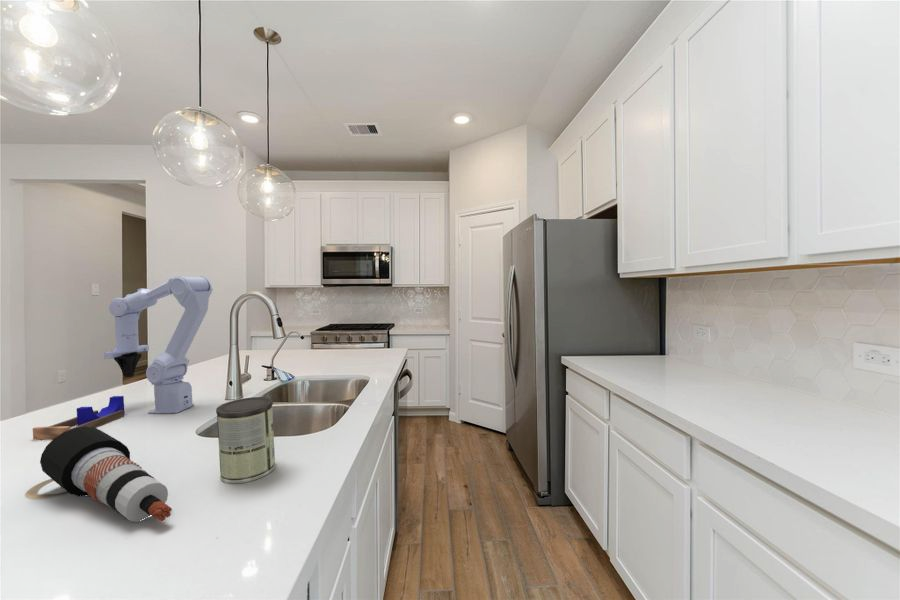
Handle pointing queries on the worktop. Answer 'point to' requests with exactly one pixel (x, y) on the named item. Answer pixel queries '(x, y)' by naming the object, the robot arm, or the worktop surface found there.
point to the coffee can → (245, 439)
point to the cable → (104, 473)
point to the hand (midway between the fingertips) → (128, 376)
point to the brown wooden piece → (59, 428)
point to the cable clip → (88, 415)
